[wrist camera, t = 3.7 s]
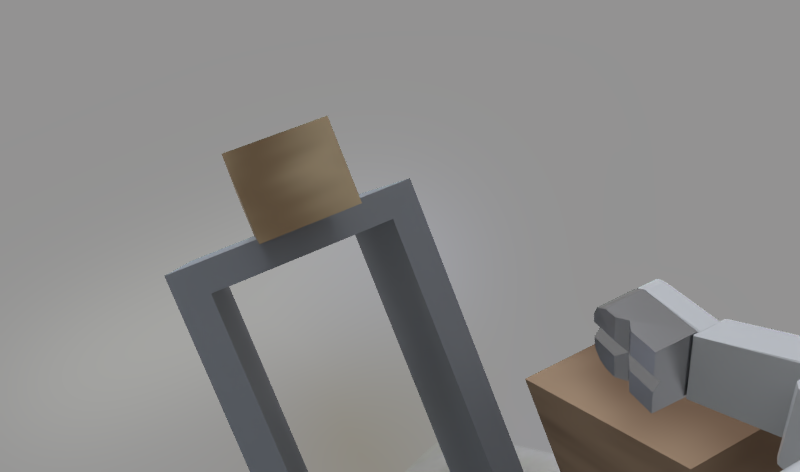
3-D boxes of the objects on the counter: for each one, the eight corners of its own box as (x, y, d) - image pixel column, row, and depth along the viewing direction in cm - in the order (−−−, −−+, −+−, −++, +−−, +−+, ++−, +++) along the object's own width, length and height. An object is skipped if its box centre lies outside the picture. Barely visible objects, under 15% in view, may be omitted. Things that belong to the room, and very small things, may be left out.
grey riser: (381, 772, 30) (164, 275, 27) (342, 610, 42) (191, 260, 40) (590, 643, 32) (409, 178, 30) (494, 526, 45) (362, 193, 42)
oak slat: (259, 244, 19) (221, 153, 19) (254, 235, 41) (236, 193, 40) (362, 203, 20) (327, 115, 20) (304, 216, 41) (286, 174, 41)
